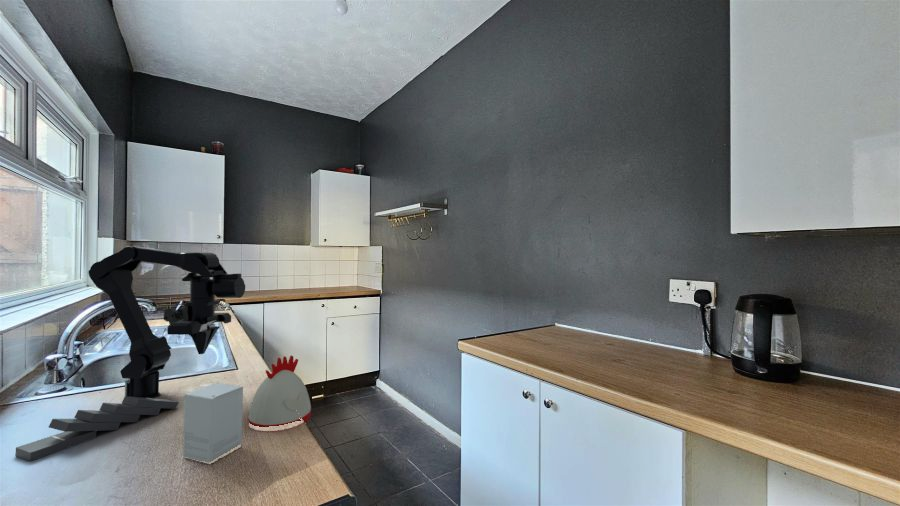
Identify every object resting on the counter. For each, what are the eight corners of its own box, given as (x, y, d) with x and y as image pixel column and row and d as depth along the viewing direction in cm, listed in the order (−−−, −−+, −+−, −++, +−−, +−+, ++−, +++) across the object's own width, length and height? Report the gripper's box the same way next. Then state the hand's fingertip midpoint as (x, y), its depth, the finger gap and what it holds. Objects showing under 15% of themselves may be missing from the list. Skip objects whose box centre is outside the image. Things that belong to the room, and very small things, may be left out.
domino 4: (147, 404, 92) (103, 402, 83) (161, 408, 90) (117, 405, 82) (144, 412, 91) (99, 410, 83) (157, 415, 90) (113, 414, 81)
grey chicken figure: (322, 416, 92) (324, 355, 92) (270, 438, 80) (272, 369, 80) (288, 402, 99) (290, 347, 99) (236, 421, 87) (238, 358, 88)
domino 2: (105, 418, 84) (52, 418, 75) (120, 421, 82) (69, 422, 73) (101, 426, 83) (48, 427, 74) (117, 430, 82) (64, 432, 73)
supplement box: (243, 447, 76) (244, 386, 76) (209, 466, 69) (211, 398, 69) (216, 440, 78) (218, 381, 78) (181, 458, 71) (183, 393, 71)
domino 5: (165, 399, 96) (124, 396, 87) (178, 401, 94) (138, 399, 86) (162, 406, 95) (121, 403, 87) (175, 409, 93) (135, 407, 85)
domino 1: (82, 425, 80) (15, 447, 71) (96, 429, 78) (30, 452, 69) (81, 433, 80) (15, 456, 71) (96, 438, 78) (30, 461, 69)
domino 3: (125, 411, 88) (78, 409, 79) (140, 414, 86) (94, 413, 77) (121, 418, 87) (73, 418, 78) (137, 422, 86) (90, 422, 77)
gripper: (195, 293, 111) (194, 345, 111) (146, 301, 92) (144, 363, 92) (232, 294, 111) (231, 345, 111) (191, 301, 93) (190, 363, 92)
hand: (201, 353), depth 102 cm, fingers closed
